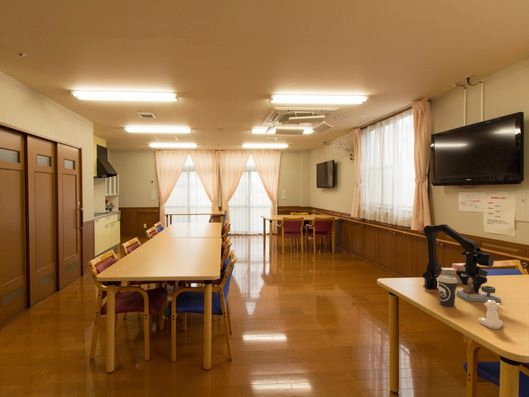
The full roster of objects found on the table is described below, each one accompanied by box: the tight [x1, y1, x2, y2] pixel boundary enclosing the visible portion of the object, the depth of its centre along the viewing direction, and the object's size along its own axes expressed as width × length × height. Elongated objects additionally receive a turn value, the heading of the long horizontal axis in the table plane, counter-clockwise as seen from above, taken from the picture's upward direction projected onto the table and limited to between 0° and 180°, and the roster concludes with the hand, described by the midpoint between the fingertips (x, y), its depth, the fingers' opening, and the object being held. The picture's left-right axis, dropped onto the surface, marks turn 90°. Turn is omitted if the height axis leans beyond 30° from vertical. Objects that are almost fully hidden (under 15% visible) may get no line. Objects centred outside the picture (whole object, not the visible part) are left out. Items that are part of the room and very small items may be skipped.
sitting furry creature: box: [478, 300, 504, 330], centre depth 142 cm, size 10×9×12 cm
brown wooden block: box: [462, 284, 480, 294], centre depth 182 cm, size 6×4×6 cm
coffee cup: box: [437, 275, 459, 308], centre depth 170 cm, size 10×10×15 cm
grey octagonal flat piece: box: [481, 285, 496, 294], centre depth 182 cm, size 6×6×2 cm
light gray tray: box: [455, 289, 502, 302], centre depth 182 cm, size 18×11×5 cm, turn 90°
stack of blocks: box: [438, 262, 473, 284], centre depth 216 cm, size 21×6×12 cm, turn 93°
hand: (470, 290), depth 182 cm, fingers open, 9 cm apart
